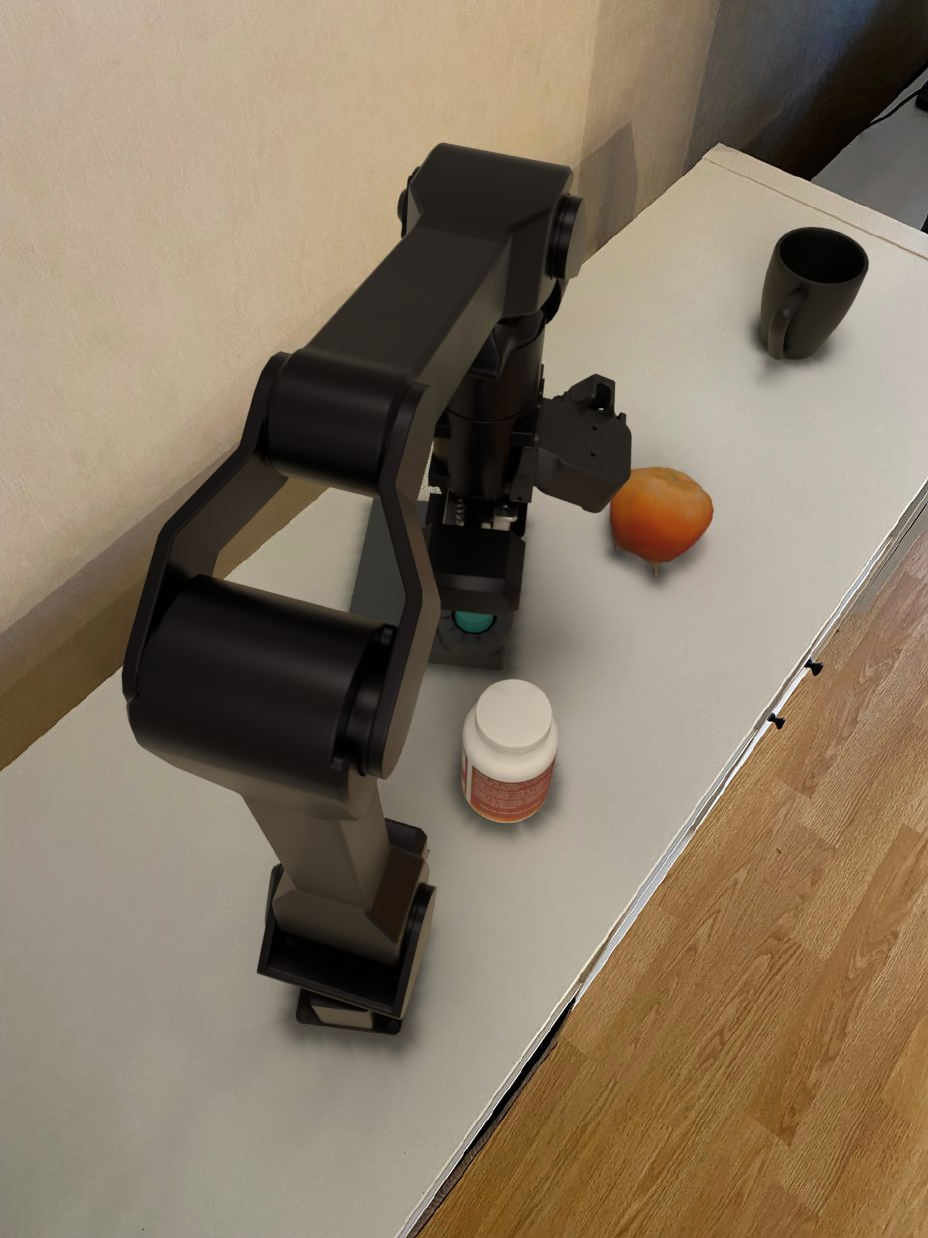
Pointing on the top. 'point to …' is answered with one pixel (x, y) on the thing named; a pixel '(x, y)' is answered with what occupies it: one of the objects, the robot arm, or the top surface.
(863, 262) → the mug
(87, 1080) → the top surface
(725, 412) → the top surface
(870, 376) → the top surface
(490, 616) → the button
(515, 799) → the pill bottle
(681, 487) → the fruit
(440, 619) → the scale
